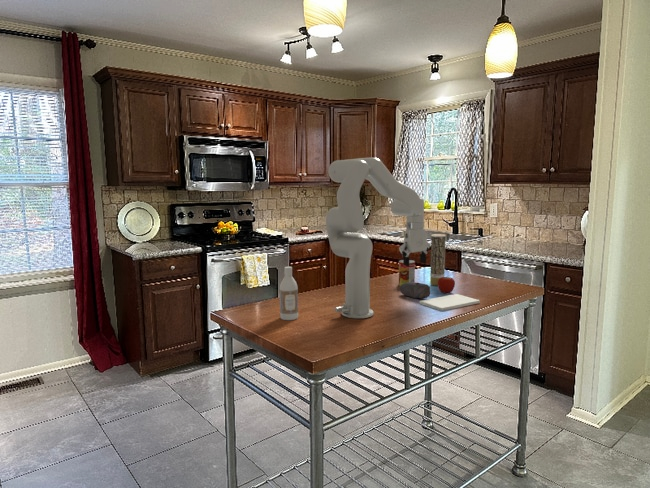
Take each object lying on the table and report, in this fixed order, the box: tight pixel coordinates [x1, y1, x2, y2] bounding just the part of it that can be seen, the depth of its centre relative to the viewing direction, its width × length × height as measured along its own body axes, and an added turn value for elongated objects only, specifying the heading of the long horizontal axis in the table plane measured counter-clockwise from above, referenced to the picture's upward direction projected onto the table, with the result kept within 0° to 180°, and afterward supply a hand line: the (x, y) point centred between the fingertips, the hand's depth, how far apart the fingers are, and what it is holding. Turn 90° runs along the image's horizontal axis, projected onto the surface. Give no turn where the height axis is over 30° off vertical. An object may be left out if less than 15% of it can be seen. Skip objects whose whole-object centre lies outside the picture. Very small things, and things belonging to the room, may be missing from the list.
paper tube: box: [429, 233, 447, 287], centre depth 227 cm, size 7×7×25 cm
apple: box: [437, 276, 456, 294], centre depth 212 cm, size 8×8×8 cm
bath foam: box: [279, 266, 299, 321], centre depth 175 cm, size 7×7×20 cm
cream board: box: [419, 293, 481, 312], centre depth 195 cm, size 22×13×1 cm, turn 121°
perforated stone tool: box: [399, 282, 431, 300], centre depth 205 cm, size 15×5×7 cm, turn 42°
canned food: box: [398, 259, 416, 287], centre depth 228 cm, size 8×8×12 cm
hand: (414, 264), depth 204 cm, fingers open, 9 cm apart
